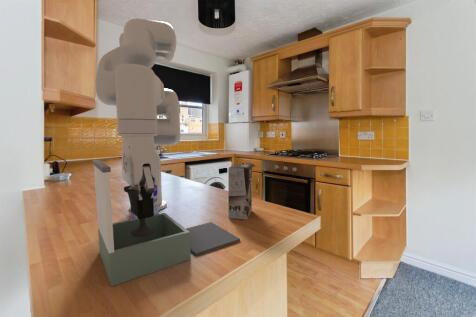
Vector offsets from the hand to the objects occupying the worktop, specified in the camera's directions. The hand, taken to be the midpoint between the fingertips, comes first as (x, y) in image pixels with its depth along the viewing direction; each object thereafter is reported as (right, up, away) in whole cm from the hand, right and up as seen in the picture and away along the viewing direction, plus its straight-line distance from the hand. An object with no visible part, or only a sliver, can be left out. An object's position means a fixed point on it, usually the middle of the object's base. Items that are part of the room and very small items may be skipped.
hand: (142, 212), depth 51 cm
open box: (0, -9, 0) cm, 9 cm away
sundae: (0, -5, +1) cm, 5 cm away
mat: (+12, -8, +9) cm, 18 cm away
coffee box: (+22, -7, +27) cm, 35 cm away
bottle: (-7, -8, +19) cm, 22 cm away
